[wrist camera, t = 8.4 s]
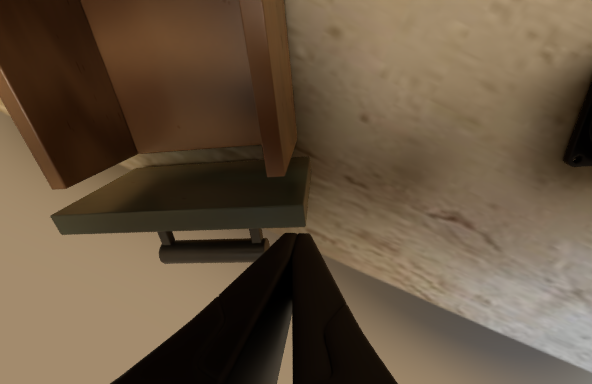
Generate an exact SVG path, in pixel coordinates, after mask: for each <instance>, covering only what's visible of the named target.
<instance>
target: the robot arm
mask: <svg viewBox="0 0 592 384" xmlns="http://www.w3.org/2000/svg"><path fill="white" fill-rule="evenodd" d="M576 156H577V158H576V159H575V160H574V161H573V159H574V158H575V157H576ZM563 161H564V163H565V164H567V165H569V166H572V167H582V166H592V82H591V85H590V88H589V91H588V93H587V96H586V99H585V101H584V104H583V107H582V110H581V112H580V115H579V118H578V120H577V123H576V126H575V129H574V131H573V134H572V137H571V139H570V142H569V145H568V148H567V150H566V153H565V156H564V159H563ZM291 316H292V324H293V325H292V331H293V332H292V334H293V335H292V336H293V384H398V383H397V382H396V381H395V379H394V378H393V376H392V375H391V373H390V372H389V371H388V369H387V368H386V366H385V365H384V363H383V362H382V360H381V359H380V358H379V356H378V355H377V353H376V352H375V350H374V349H373V347H372V346H371V344H370V343H369V341H368V340H367V338H366V337H365V335H364V334H363V332H362V330H361V329H360V327H359V325H358V323H357V322H356V320H355V318H354V316H353V314H352V313H351V311H350V309H349V307H348V305H346V302H345V300H344V298H343V296H342V294H341V292H340V290H339V288H338V286H337V284H336V283H335V280H334V279H333V277H332V275H331V273H330V271H329V269H328V267H327V265H326V263H325V261H324V259H323V258H322V256H321V254H320V252H319V250H318V248H317V246H316V244H315V242H314V240H313V238H312V237H311V235H310V234H309V233H299V234H298V235H297V234H296V233H285V234H283V235H282V236H281V237H280V238H279V239H278V240H277V241H276V242H275V243H274V244H273V245H272V246H271V247H269V248H268V249H267V250H266V251H265V252H264V253H263V254H262V255H261V256H260V257H259V258H258V259H257V260H256V261H255V262H254V263H253V264H252V265H250V266H249V267H248V268H247V269H246V270H245V271H244V272H243V273H242V274H241V275H240V276H239V277H238V278H237V279H236V280H234V281H233V282H232V283H231V284H230V285H229V286H228V287H227V288H226V289H225V290H224V291H223V292H222V293H221V294H219V297H216V298H215V299H214V300H213V301H212V302H211V303H210V304H209V305H208V306H206V307H205V308H204V309H203V310H202V311H201V312H200V313H199V314H198V315H196V316H195V317H194V318H193V319H192V320H191V321H190V322H188V323H187V324H186V325H185V326H183V327H182V328H181V329H180V330H178V331H177V332H176V333H175V334H174V335H172V336H171V337H170V338H169V339H167V340H166V341H165V342H163V343H162V344H161V345H160V346H158V347H157V348H156V349H155V350H153V351H152V352H151V353H150V354H148V355H147V356H146V357H144V358H143V359H142V360H141V361H139V362H138V363H137V364H136V365H134V366H133V367H132V368H130V369H129V370H128V371H127V372H126V373H124V374H123V375H121V376H120V377H119V378H117V379H116V380H115V381H113V382H112V383H110V384H277V380H278V376H279V371H280V366H281V362H282V357H283V353H284V348H285V343H286V339H287V334H288V329H289V325H290V320H291Z"/></svg>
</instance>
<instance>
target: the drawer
mask: <svg viewBox="0 0 592 384" xmlns="http://www.w3.org/2000/svg"><path fill="white" fill-rule="evenodd" d="M0 98H1V100H2V102H3V104H4V105H5V107H6V109H7V111H8V112H9V114H10V116H11V118H12V119H13V121H14V123H15V125H16V126H17V128H18V130H19V131H20V133H21V135H22V137H23V139H24V141H25V142H26V144H27V146H28V147H29V149H30V151H31V153H32V155H33V156H34V158H35V160H36V162H37V163H38V165H39V167H40V169H41V171H42V172H43V174H44V176H45V177H46V179H47V181H48V183H49V185H50V186H51V188H52V189H67V188H69V187H71V186H73V185H75V184H77V183H79V182H81V181H83V180H85V179H87V178H89V177H91V176H93V175H96V174H98V173H100V172H102V171H104V170H106V169H108V168H110V167H112V166H114V165H116V164H118V163H120V162H122V161H124V160H127V159H129V158H131V157H133V156H135V155H137V154H143V153H157V152H170V151H183V150H197V149H210V148H224V147H237V146H250V145H262V149H263V155H264V159H263V160H248V161H233V162H218V163H204V164H189V165H174V166H159V167H144V168H136V169H134V170H132V171H130V172H128V173H127V174H125V175H123V176H121V177H119V178H118V179H116V180H114V181H112V182H110V183H109V184H107V185H105V186H103V187H101V188H100V189H98V190H96V191H94V192H92V193H90V194H89V195H87V196H85V197H83V198H81V199H80V200H78V201H76V202H74V203H72V204H71V205H69V206H67V207H65V208H64V209H62V210H60V211H58V212H56V213H54V214H53V215H51V218H52V220H53V221H54V223H55V225H56V227H57V228H58V230H59V232H60V233H61V234H62V235H67V234H68V235H69V234H97V233H98V234H101V233H131V232H158V235H159V237H160V239H161V242H162V245H161V247H160V250H159V258H160V260H161V262H163V263H165V264H170V263H234V262H255V261H256V260H257V259H258V258H259V257H260V256H261V255H262V254H263V253H264V252H265V251H266V250H267V249H268V248H269V247H270V246H269V241H268V239H267V238H263V235H262V229H261V228H285V227H305V226H306V219H307V209H308V199H309V189H310V180H311V162H310V157H309V156H308V157H293V158H291V156H292V153H293V150H294V147H295V144H296V141H297V128H296V118H295V108H294V98H293V88H292V78H291V68H290V57H289V47H288V37H287V27H286V17H285V7H284V0H0ZM221 229H249V231H250V235H251V238H249V239H248V238H247V239H213V240H212V239H211V240H176V241H175V238H174V236H173V233H172V231H192V230H221Z"/></svg>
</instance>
